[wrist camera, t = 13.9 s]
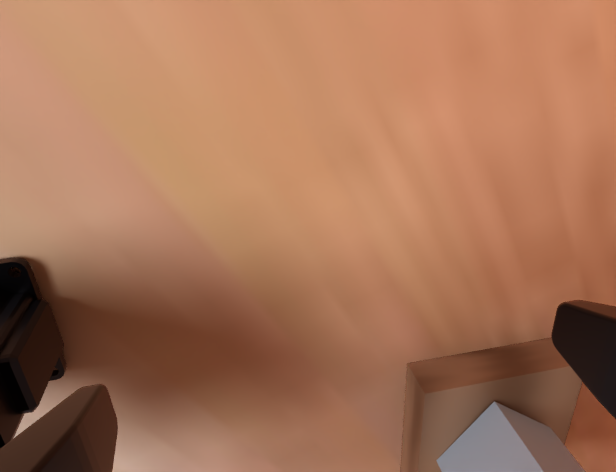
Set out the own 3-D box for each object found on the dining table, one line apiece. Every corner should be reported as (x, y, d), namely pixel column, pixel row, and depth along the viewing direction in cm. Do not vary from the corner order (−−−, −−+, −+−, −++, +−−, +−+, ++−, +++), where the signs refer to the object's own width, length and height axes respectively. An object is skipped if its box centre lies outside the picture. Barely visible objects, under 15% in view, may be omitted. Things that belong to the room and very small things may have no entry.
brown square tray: (397, 470, 32) (414, 511, 30) (404, 357, 28) (425, 393, 25) (527, 441, 34) (554, 478, 31) (553, 331, 29) (587, 362, 27)
